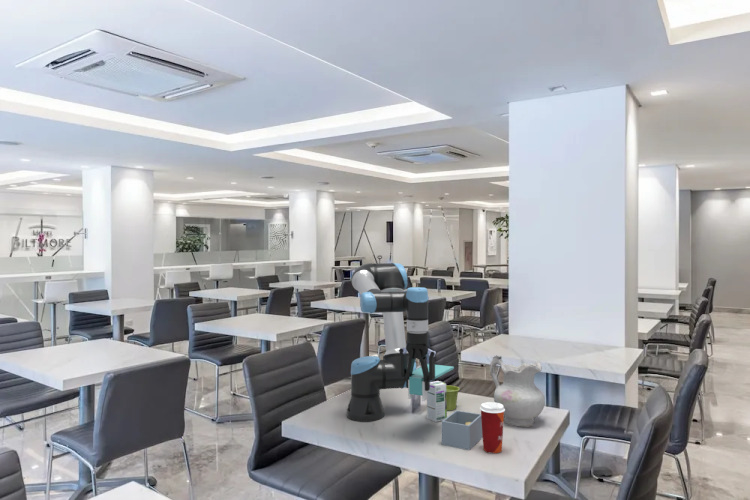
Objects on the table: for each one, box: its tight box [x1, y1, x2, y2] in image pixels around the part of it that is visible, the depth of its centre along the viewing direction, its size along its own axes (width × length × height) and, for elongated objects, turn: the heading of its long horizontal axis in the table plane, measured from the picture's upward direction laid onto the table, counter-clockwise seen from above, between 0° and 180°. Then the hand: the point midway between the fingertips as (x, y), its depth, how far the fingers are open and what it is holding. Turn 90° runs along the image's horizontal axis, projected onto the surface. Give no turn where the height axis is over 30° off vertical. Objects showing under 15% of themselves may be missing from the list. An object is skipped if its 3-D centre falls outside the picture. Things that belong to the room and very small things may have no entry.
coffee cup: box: [479, 401, 505, 454], centre depth 171 cm, size 8×8×15 cm
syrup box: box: [426, 380, 448, 423], centre depth 202 cm, size 6×6×14 cm
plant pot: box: [446, 384, 460, 412], centre depth 216 cm, size 9×9×9 cm
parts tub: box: [441, 409, 483, 451], centre depth 179 cm, size 14×10×8 cm
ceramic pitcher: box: [489, 355, 546, 428], centre depth 199 cm, size 22×20×25 cm
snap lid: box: [409, 363, 455, 396], centre depth 186 cm, size 23×11×6 cm, turn 150°
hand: (417, 398), depth 178 cm, fingers closed on snap lid, 5 cm apart
